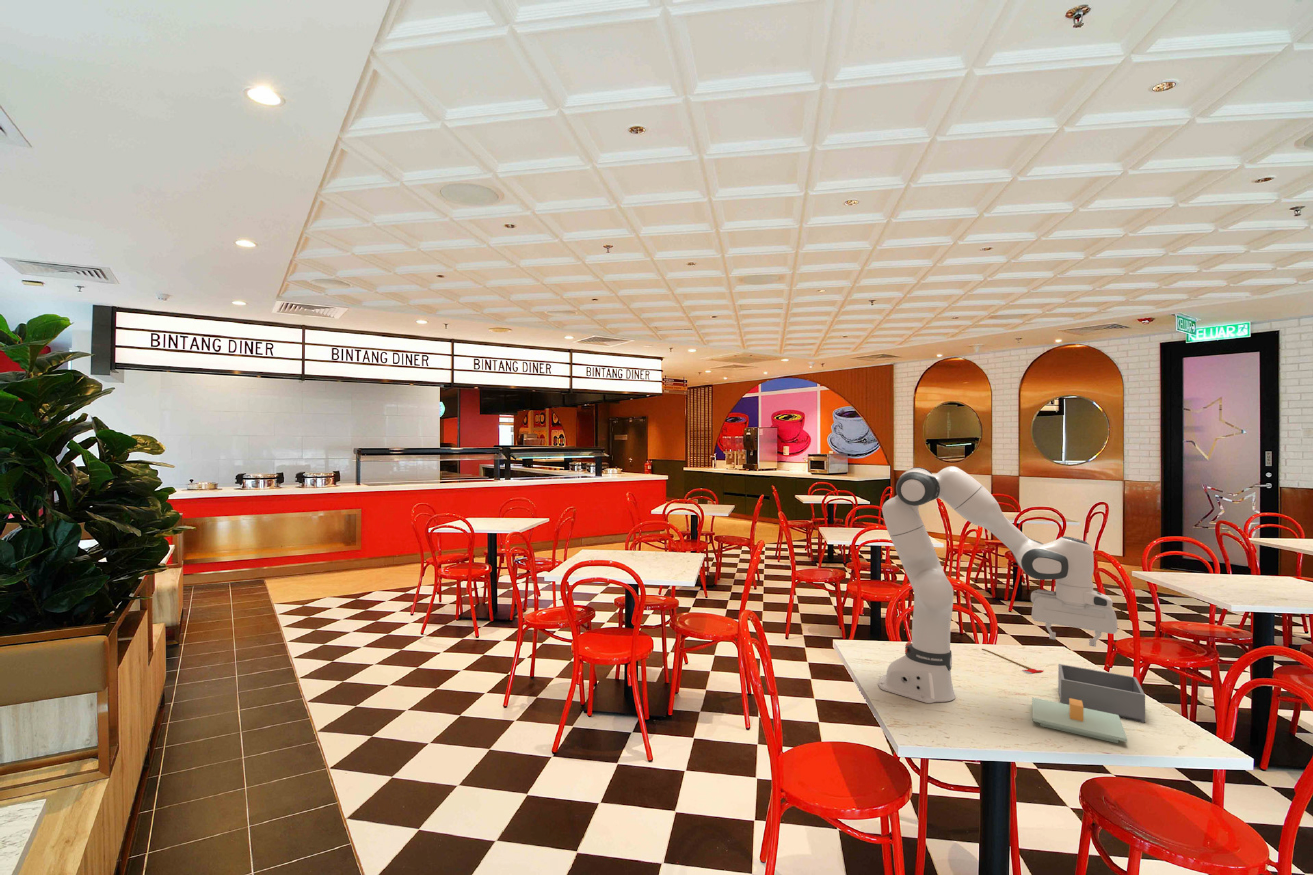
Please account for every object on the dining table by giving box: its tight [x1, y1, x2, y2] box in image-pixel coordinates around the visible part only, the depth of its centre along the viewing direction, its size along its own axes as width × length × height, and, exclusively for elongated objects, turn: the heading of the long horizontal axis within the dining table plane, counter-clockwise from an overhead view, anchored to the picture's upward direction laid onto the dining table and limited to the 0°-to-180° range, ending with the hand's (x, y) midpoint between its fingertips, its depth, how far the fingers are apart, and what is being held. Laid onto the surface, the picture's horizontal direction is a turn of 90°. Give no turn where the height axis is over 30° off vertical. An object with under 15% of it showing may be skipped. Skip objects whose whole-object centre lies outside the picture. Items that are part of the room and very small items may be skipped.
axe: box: [981, 648, 1044, 675], centre depth 219 cm, size 26×1×10 cm
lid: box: [1031, 697, 1128, 744], centre depth 168 cm, size 21×17×6 cm
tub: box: [1057, 663, 1146, 724], centre depth 182 cm, size 20×16×8 cm
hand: (1072, 642), depth 170 cm, fingers open, 8 cm apart
